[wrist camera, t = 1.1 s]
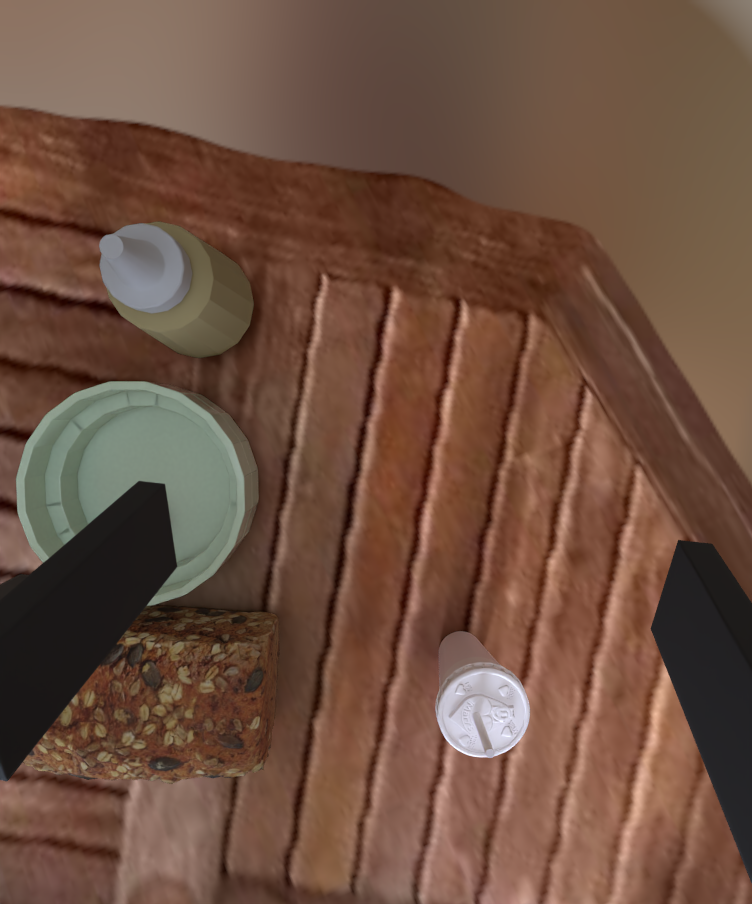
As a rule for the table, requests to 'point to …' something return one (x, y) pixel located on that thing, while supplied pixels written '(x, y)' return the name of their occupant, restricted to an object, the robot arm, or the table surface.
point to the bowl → (141, 472)
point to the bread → (172, 701)
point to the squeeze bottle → (176, 288)
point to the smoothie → (478, 699)
